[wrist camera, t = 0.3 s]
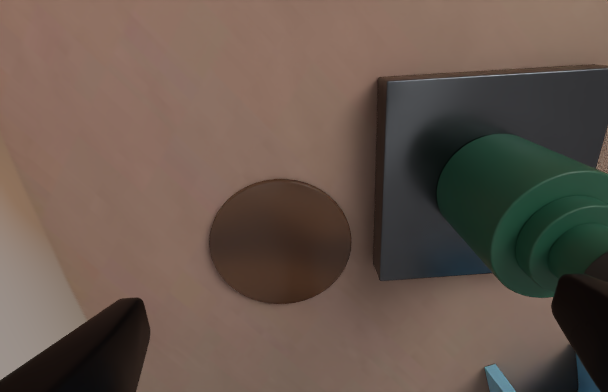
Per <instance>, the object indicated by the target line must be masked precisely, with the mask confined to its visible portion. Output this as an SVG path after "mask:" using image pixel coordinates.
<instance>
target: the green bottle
mask: <svg viewBox="0 0 608 392" xmlns="http://www.w3.org/2000/svg"><path fill="white" fill-rule="evenodd" d="M437 203H438V207H439V210H440V212H441V214H442V215H443V217H444V218H445V220H446V221H447V222H448V223H449V224H450V225H451V226H452V228H453V229H454V230H455V231H456V232H457V233H458V234H459V235H460V237H461V238H462V239H463V240H464V241H465V242H466V243H467V244H468V246H469V247H470V248H471V249H472V250H473V251H474V252H475V254H476V255H477V256H478V257H479V258H480V259H481V260H482V261H483V263H484V264H485V265H486V266H487V267H488V268H489V269H490V270H491V272H492V273H493V274H494V275H495V276H496V277H497V278H498V280H499V281H500V282H501V283H502V284H503V285H504V286H506V287H507V288H508V289H510V290H512V291H514V292H516V293H519V294H521V295H525V296H529V297H537V298H548V297H554V294H555V290H556V287H557V283H558V280H559V278H560V277H561V276H562V275H564V274H574V273H583V274H587V275H589V276H592V277H594V278H597V279H600V280H602V281H605V282H608V174H607V173H604V172H602V171H600V170H597V169H595V168H592V167H590V166H588V165H585V164H583V163H581V162H578V161H576V160H573V159H571V158H569V157H566V156H564V155H562V154H559V153H557V152H554V151H552V150H550V149H547V148H545V147H543V146H540V145H538V144H535V143H533V142H531V141H528V140H526V139H524V138H521V137H519V136H515V135H511V134H492V135H488V136H484V137H481V138H478V139H476V140H474V141H472V142H470V143H468V144H467V145H465V146H464V147H462V148H461V149H460V150H459V151H457V152H456V153H455V154H454V155H453V156H452V158H451V159H450V160H449V161H448V163H447V164H446V166H445V167H444V169H443V171H442V173H441V175H440V178H439V181H438V186H437Z"/></svg>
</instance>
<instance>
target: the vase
mask: <svg viewBox="0 0 608 392" xmlns="http://www.w3.org/2000/svg"><path fill="white" fill-rule="evenodd" d="M576 361H577V372H578V384H579V388H578V391H577V392H600V391H599V389H598V388H597V386H596V385H595V383H594V382H593V380H592V379H591V377H590V376H589V374H588V372H587V371H586V369H585V367H584V366H583V364H582V362H581V361H580V359H579V357H578V356H577V354H576ZM484 368H485V372H486V377H487V381H488V385H489V390H490V392H516V391H515V389H514V388H513V387H512V385H511V384H510V383H509V381H508V380H507V379H506V377H505V376H504V375H503V373H502V372H501V371H500V370H499V368H498V367H497V366H496V364H493V365H490V366H487V367H484Z"/></svg>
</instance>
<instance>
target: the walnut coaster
mask: <svg viewBox="0 0 608 392" xmlns="http://www.w3.org/2000/svg"><path fill="white" fill-rule="evenodd" d="M209 244H210V253H211V257H212V260H213V263H214V265H215V267H216V269H217V271H218V272H219V274H220V275H221V277H222V278H223V279H224V280H225V281H226V282H227V283H228V284H229V285H230V286H231V287H232V288H233V289H235V290H236V291H237V292H239V293H241V294H243V295H244V296H247V297H249V298H251V299H254V300H257V301H260V302H266V303H273V304H288V303H295V302H299V301H303V300H306V299H309V298H312V297H314V296H316V295H318V294H320V293H321V292H323V291H324V290H326V289H327V288H328V287H329V286H331V285H332V284H333V283H334V282H335V281H336V280H337V279H338V277H339V276H340V275H341V273H342V272H343V270H344V268H345V266H346V264H347V262H348V259H349V256H350V251H351V233H350V229H349V225H348V222H347V220H346V217H345V215H344V213H343V212H342V210H341V208H340V207H339V206H338V205H337V203H336V202H335V201H334V200H333V199H332V198H331V197H330V196H328V195H327V194H326V193H324V192H323V191H321V190H320V189H318V188H316V187H314V186H312V185H309V184H307V183H304V182H300V181H296V180H288V179H274V180H266V181H262V182H258V183H255V184H252V185H250V186H247V187H245V188H244V189H242V190H240V191H238V192H237V193H236V194H234V195H233V196H232V197H230V198H229V199H228V200H227V201H226V202H225V204H224V205H223V206H222V207H221V209H220V210H219V212H218V214H217V215H216V217H215V220H214V222H213V225H212V228H211V233H210V243H209Z"/></svg>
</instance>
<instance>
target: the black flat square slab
mask: <svg viewBox="0 0 608 392" xmlns="http://www.w3.org/2000/svg"><path fill="white" fill-rule="evenodd" d="M607 126H608V66H606V65H595V64H592V65H575V66H558V67H541V68H525V69H508V70H491V71H474V72H457V73H440V74H423V75H406V76H389V77H379V78H378V97H377V134H376V172H375V209H374V246H373V264H374V267H375V270H376V272H377V275H378V277H379V280H380V281H389V280H403V279H417V278H431V277H444V276H458V275H472V274H486V273H492V272H491V270H490V269H489V268H488V267H487V266H486V265H485V264H484V263H483V261H482V260H481V259H480V258H479V257H478V256H477V255H476V254H475V252H474V251H473V250H472V249H471V248H470V247H469V246H468V244H467V243H466V242H465V241H464V240H463V239H462V238H461V237H460V235H459V234H458V233H457V232H456V231H455V230H454V229H453V228H452V226H451V225H450V224H449V223H448V222H447V221H446V220H445V218H444V217H443V215H442V214H441V212H440V210H439V207H438V203H437V186H438V181H439V178H440V175H441V173H442V171H443V169H444V167H445V166H446V164H447V163H448V161H449V160H450V159H451V158H452V156H453V155H454V154H455V153H456V152H457V151H459V150H460V149H461V148H462V147H464V146H465V145H467V144H468V143H470V142H472V141H474V140H476V139H478V138H481V137H484V136H488V135H492V134H511V135H515V136H519V137H521V138H524V139H526V140H528V141H531V142H533V143H535V144H538V145H540V146H543V147H545V148H547V149H550V150H552V151H554V152H557V153H559V154H562V155H564V156H566V157H569V158H571V159H573V160H576V161H578V162H581V163H583V164H585V165H588V166H590V167H592V168H595V169H596V166H597V163H598V159H599V155H600V152H601V148H602V144H603V141H604V137H605V134H606V130H607Z"/></svg>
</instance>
